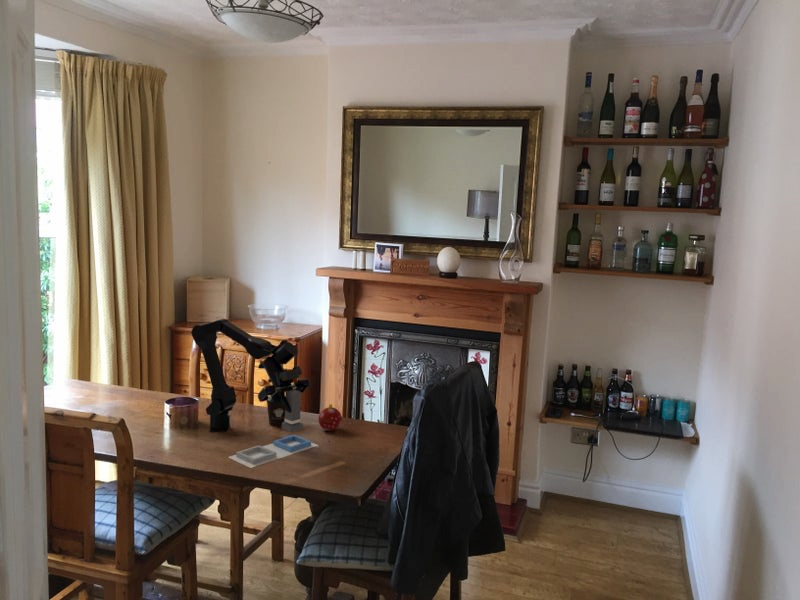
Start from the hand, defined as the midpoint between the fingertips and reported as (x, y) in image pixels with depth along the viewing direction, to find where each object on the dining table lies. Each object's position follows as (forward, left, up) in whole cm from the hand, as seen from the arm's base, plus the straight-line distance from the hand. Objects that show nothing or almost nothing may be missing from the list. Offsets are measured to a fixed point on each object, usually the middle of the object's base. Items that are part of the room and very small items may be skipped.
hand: (295, 410), depth 210 cm
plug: (-1, +1, -7) cm, 7 cm away
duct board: (-6, -4, -13) cm, 15 cm away
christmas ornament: (+12, +19, -14) cm, 26 cm away
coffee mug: (-6, +26, -14) cm, 30 cm away
